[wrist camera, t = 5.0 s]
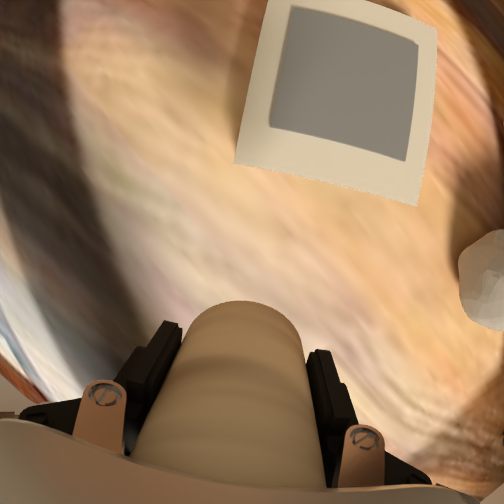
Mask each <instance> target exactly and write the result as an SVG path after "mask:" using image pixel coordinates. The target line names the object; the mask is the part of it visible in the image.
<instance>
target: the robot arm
mask: <svg viewBox="0 0 504 504" xmlns="http://www.w3.org/2000/svg"><path fill="white" fill-rule="evenodd" d="M181 340H182V328H179V327H178V323H174V322H169V321H165V320H164V321H163V323H162V324H161V326H160V327H159V329H158V330H157V332H156V333H155V335H154V336H153V338H152V339H151V341H150V342H149V344H148V345H147V347H146V348H145V347H141V346H137V347H136V349H135V350H134V352H133V353H132V354H131V356H130V357H129V359H128V360H127V362H126V363H125V364H124V366H123V367H122V369H121V370H120V372H119V373H118V375H117V376H116V378H115V379H114V381H109V380H98V381H94V382H92V383H90V384H89V385H88V386H86V388H85V390H84V392H83V396H82V398H78V399H73V400H67V401H61V402H55V403H50V404H43V405H36V406H31V407H28V408H26V409H24V410H23V411H22V412H21V413H20V415H16V414H15V412H0V504H480V503H479V501H478V500H477V499H476V498H475V497H473V496H470V495H467V494H465V493H462V492H459V491H456V490H453V489H451V488H448V487H445V486H443V485H440V484H438V483H436V484H435V485H432V482H431V480H430V478H429V477H428V476H427V475H426V474H425V473H423V472H422V471H420V470H418V469H416V468H414V467H413V466H411V465H409V464H407V463H405V462H404V461H402V460H400V459H398V458H397V457H395V456H393V455H391V454H390V453H388V452H386V451H385V442H384V438H383V436H382V434H381V433H380V432H379V431H378V430H376V429H375V428H373V427H371V426H368V425H361V424H359V423H358V420H357V417H356V414H355V411H354V408H353V405H352V402H351V399H350V396H349V393H348V390H347V387H346V385H345V384H344V383H340V379H339V376H338V373H337V370H336V367H335V364H334V361H333V358H332V355H331V352H330V351H327V350H320V349H316V350H315V352H310V354H309V357H308V360H307V363H306V369H307V374H308V380H309V385H310V390H311V396H312V402H313V407H314V413H315V419H316V424H317V430H318V436H319V442H320V448H321V454H322V461H323V467H324V473H325V480H326V486H327V488H294V487H274V486H256V485H246V484H238V483H231V482H225V481H220V480H215V479H210V478H206V477H201V476H197V475H194V474H190V473H186V472H181V471H177V470H173V469H169V468H165V467H161V466H158V465H154V464H151V463H147V462H144V461H141V460H137V459H134V458H131V457H129V455H130V453H131V451H132V449H133V446H134V444H135V442H136V440H137V438H138V435H139V433H140V431H141V429H142V427H143V424H144V422H145V420H146V418H147V416H148V413H149V411H150V409H151V407H152V405H153V403H154V400H155V398H156V396H157V394H158V392H159V390H160V388H161V385H162V383H163V381H164V379H165V377H166V375H167V373H168V371H169V368H170V366H171V364H172V362H173V360H174V358H175V356H176V354H177V352H178V350H179V347H180V345H181Z"/></svg>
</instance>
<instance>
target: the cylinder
mask: <svg viewBox="0 0 504 504" xmlns="http://www.w3.org/2000/svg"><path fill="white" fill-rule="evenodd" d="M129 457H131V458H134V459H137V460H141V461H144V462H147V463H151V464H154V465H158V466H161V467H165V468H169V469H173V470H177V471H181V472H186V473H190V474H194V475H197V476H201V477H206V478H210V479H215V480H220V481H225V482H231V483H238V484H246V485H256V486H274V487H294V488H327V486H326V480H325V473H324V467H323V461H322V454H321V448H320V442H319V436H318V430H317V424H316V419H315V413H314V407H313V402H312V396H311V390H310V385H309V380H308V374H307V369H306V363H305V358H304V353H303V348H302V343H301V339H300V336H299V334H298V332H297V330H296V329H295V327H294V326H293V324H292V323H291V322H290V321H289V320H288V319H287V318H286V317H285V316H284V315H283V314H281V313H280V312H278V311H277V310H275V309H273V308H271V307H269V306H266V305H263V304H260V303H256V302H250V301H230V302H225V303H221V304H218V305H215V306H213V307H211V308H209V309H207V310H205V311H204V312H203V313H201V314H200V315H199V316H198V317H197V318H196V319H195V320H194V321H193V322H192V324H191V325H190V327H189V329H188V331H187V333H186V335H185V337H184V339H183V341H182V343H181V345H180V347H179V350H178V352H177V354H176V356H175V358H174V360H173V362H172V364H171V366H170V368H169V371H168V373H167V375H166V377H165V379H164V381H163V383H162V385H161V388H160V390H159V392H158V394H157V396H156V398H155V400H154V403H153V405H152V407H151V409H150V411H149V413H148V416H147V418H146V420H145V422H144V424H143V427H142V429H141V431H140V433H139V435H138V438H137V440H136V442H135V444H134V446H133V449H132V451H131V453H130V455H129Z"/></svg>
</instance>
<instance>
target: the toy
mask: <svg viewBox="0 0 504 504" xmlns="http://www.w3.org/2000/svg"><path fill="white" fill-rule="evenodd" d="M458 270H459V296H460V300H461V303H462V306H463V308H464V311H465V313H466V314H467V316H468V317H469V318H470V319H471V320H472V321H474V322H476V323H478V324H480V325H482V326H484V327H486V328H489V329H492V330H496V331H504V229H500V230H494V231H491V232H489V233H488V234H486V235H485V236H483V237H482V238H481V239H479V240H477V241H476V242H475V243H473V244H472V245H470V246H468V247H467V248H465V249H464V251H463V252H462V253H461V254H460V257H459V259H458Z"/></svg>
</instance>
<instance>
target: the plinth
mask: <svg viewBox="0 0 504 504" xmlns="http://www.w3.org/2000/svg"><path fill="white" fill-rule="evenodd" d="M436 64H437V29H436V28H434V27H432V26H430V25H427V24H425V23H423V22H421V21H419V20H416V19H414V18H412V17H409V16H407V15H405V14H402V13H400V12H397V11H394V10H392V9H389V8H386V7H384V6H381V5H378V4H375V3H372V2H369V1H366V0H268V3H267V7H266V11H265V15H264V20H263V24H262V28H261V33H260V37H259V41H258V46H257V50H256V55H255V59H254V64H253V69H252V73H251V78H250V83H249V87H248V92H247V97H246V102H245V107H244V112H243V117H242V122H241V127H240V132H239V137H238V142H237V147H236V153H235V158H234V163H233V164H238V165H243V166H249V167H255V168H260V169H265V170H270V171H275V172H280V173H285V174H290V175H295V176H299V177H304V178H308V179H313V180H317V181H322V182H326V183H330V184H334V185H339V186H343V187H347V188H351V189H355V190H358V191H362V192H366V193H370V194H374V195H377V196H381V197H384V198H388V199H392V200H395V201H399V202H402V203H405V204H409V205H412V206H415V207H417V203H418V198H419V194H420V189H421V184H422V179H423V174H424V169H425V163H426V157H427V151H428V145H429V138H430V131H431V123H432V115H433V106H434V95H435V82H436Z"/></svg>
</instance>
